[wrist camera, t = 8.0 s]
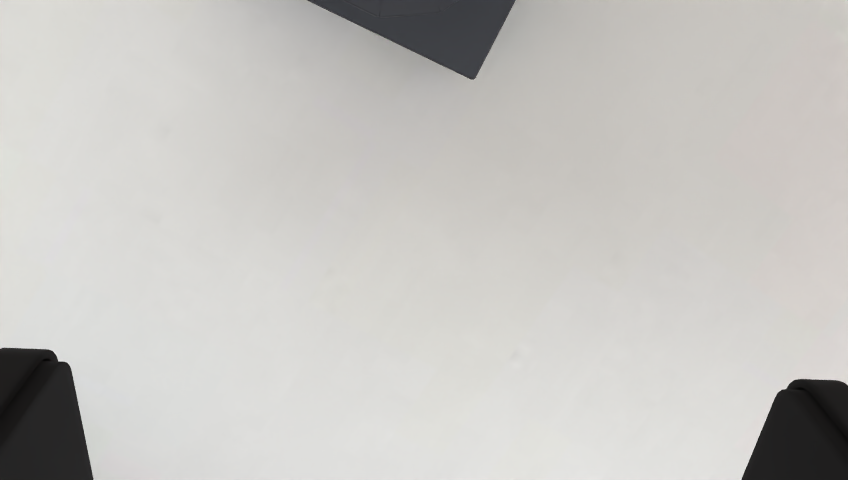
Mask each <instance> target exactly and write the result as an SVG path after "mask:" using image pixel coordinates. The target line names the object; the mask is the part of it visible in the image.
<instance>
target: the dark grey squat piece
mask: <svg viewBox="0 0 848 480" xmlns="http://www.w3.org/2000/svg"><path fill="white" fill-rule="evenodd" d="M308 1H310V2H312V3H314V4H316V5H318V6H320V7H322V8H324V9H326V10H328V11H330V12H333V13H335V14H337V15H339V16H341V17H343V18H345V19H347V20H349V21H351V22H353V23H355V24H357V25H359V26H362V27H364V28H366V29H368V30H370V31H372V32H374V33H376V34H378V35H380V36H382V37H384V38H386V39H388V40H391V41H393V42H395V43H397V44H399V45H401V46H403V47H405V48H407V49H409V50H411V51H413V52H415V53H417V54H420V55H422V56H424V57H426V58H428V59H430V60H432V61H434V62H436V63H438V64H440V65H442V66H444V67H447V68H449V69H451V70H453V71H455V72H457V73H459V74H461V75H463V76H465V77H467V78H469V79H473V80H474V79H475V78H476V76H477V74H478V72H479V70H480V68H481V66H482V64H483V62H484V60H485V58H486V56H487V54H488V53H489V51H490V49H491V47H492V45H493V43H494V41H495V39H496V37H497V35H498V33H499V31H500V29H501V27H502V26H503V24H504V22H505V20H506V18H507V16H508V14H509V12H510V10H511V8H512V6H513V4H514V2H515V0H308Z"/></svg>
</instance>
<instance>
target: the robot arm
mask: <svg viewBox="0 0 848 480" xmlns="http://www.w3.org/2000/svg"><path fill="white" fill-rule="evenodd" d="M0 480H93V475H92V470H91V465H90V460H89V455H88V450H87V445H86V440H85V436H84V431H83V426H82V421H81V416H80V411H79V406H78V401H77V396H76V391H75V386H74V381H73V376H72V371H71V368H70V366H69V364H68V363H66V362H58V359H57V356H56V355H55V353H54V352H53V351H51V350H46V349H21V348H2V349H0ZM742 480H848V385H847V384H845V383H844V382H841V381H836V380H811V379H798V380H794V381H793V382H791V383H790V384H789V386H788V387H787V389H785V390H781V391H780V392H778V394H777V395H776V397H775V399H774V402H773V404H772V407H771V409H770V411H769V414H768V416H767V419H766V421H765V424H764V426H763V429H762V431H761V433H760V436H759V438H758V441H757V443H756V446H755V448H754V450H753V453H752V455H751V458H750V460H749V463H748V465H747V467H746V470H745V472H744V475H743V477H742Z"/></svg>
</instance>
